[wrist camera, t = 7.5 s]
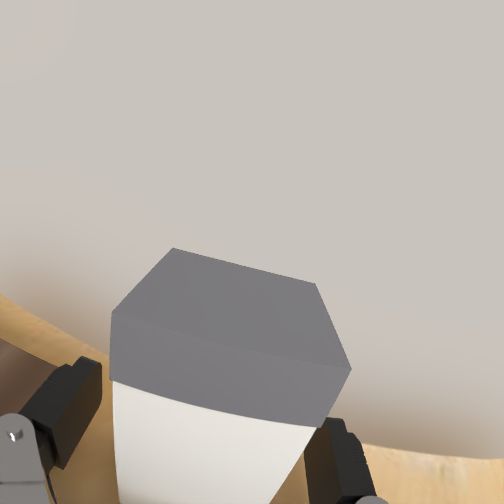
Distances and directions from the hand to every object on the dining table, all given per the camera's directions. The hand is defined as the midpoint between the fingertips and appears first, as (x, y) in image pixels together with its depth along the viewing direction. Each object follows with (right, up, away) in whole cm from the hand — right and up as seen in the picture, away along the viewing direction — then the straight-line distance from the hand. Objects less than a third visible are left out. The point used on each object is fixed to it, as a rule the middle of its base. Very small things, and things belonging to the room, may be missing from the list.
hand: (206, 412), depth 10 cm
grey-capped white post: (-2, -8, 0) cm, 9 cm away
